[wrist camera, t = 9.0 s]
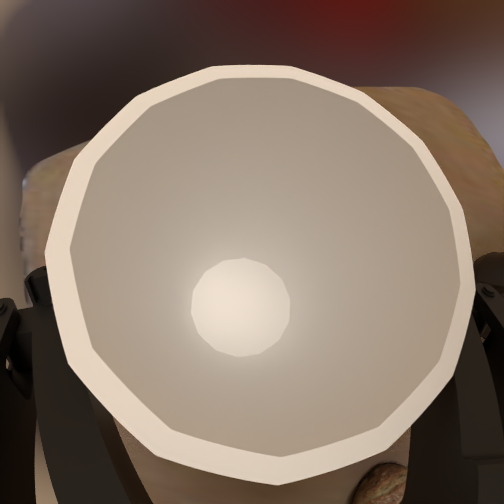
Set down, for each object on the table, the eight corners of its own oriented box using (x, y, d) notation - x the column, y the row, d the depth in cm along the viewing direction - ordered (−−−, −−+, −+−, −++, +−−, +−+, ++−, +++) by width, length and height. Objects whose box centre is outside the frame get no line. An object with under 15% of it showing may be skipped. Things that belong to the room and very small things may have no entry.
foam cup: (309, 386, 16) (467, 440, 4) (158, 376, 16) (32, 437, 3) (314, 242, 19) (428, 107, 7) (175, 228, 19) (127, 58, 6)
